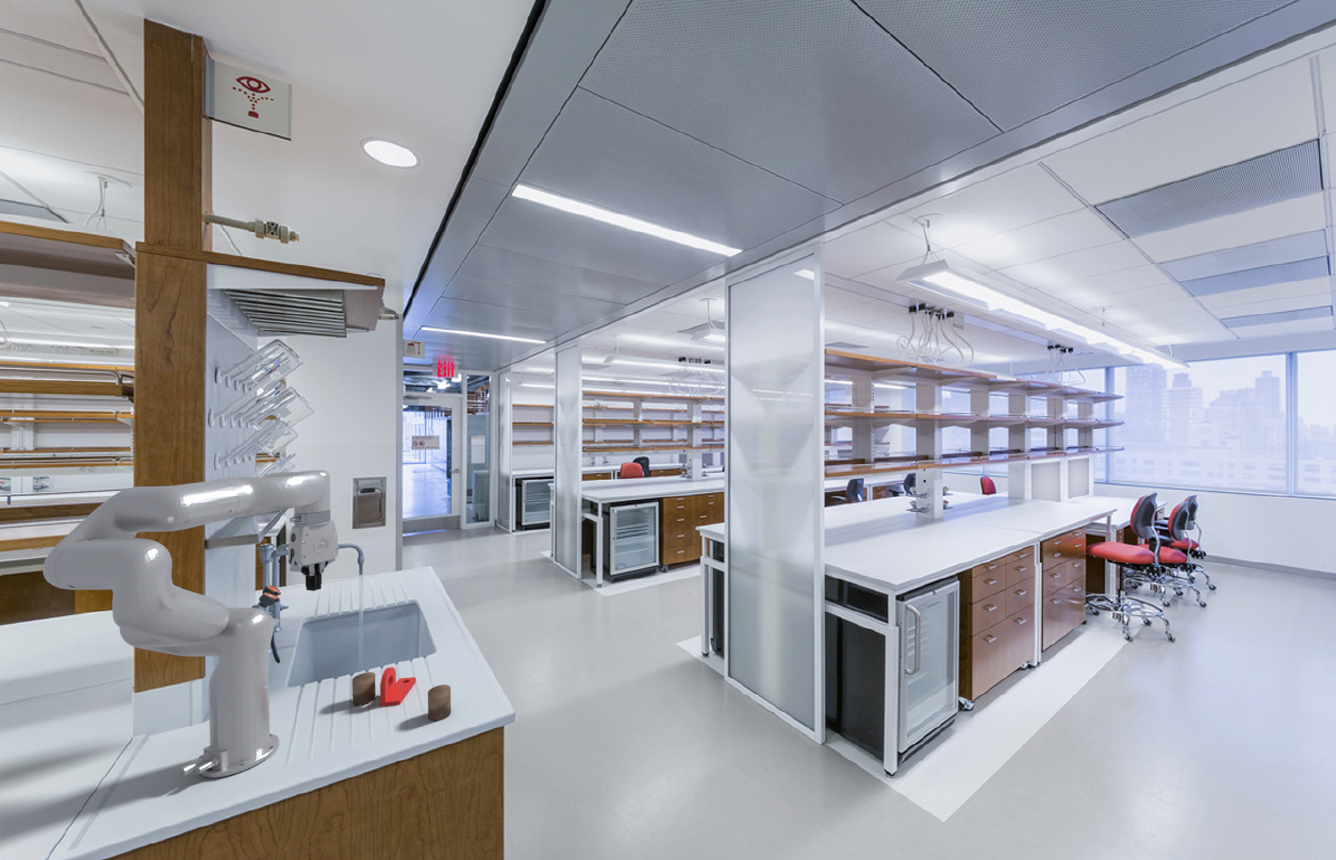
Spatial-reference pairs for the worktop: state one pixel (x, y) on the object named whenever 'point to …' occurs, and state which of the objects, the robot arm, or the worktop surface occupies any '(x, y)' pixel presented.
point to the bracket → (394, 688)
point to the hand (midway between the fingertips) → (313, 589)
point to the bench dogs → (436, 696)
